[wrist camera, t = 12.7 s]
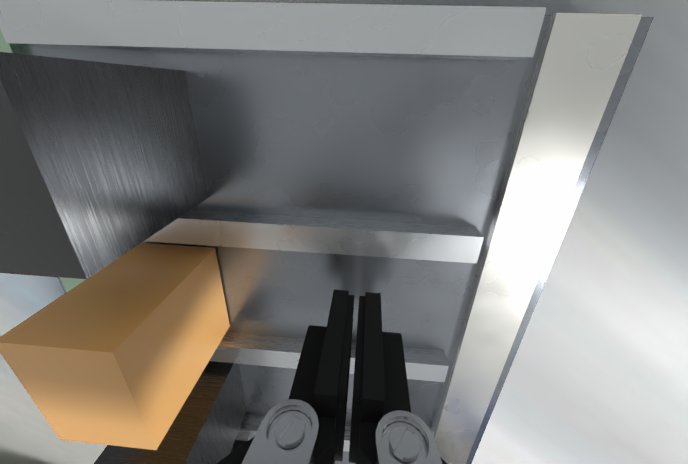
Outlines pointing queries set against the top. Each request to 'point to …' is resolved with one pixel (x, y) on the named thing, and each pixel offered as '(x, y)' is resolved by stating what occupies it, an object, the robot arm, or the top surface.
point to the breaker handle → (123, 346)
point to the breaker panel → (311, 177)
